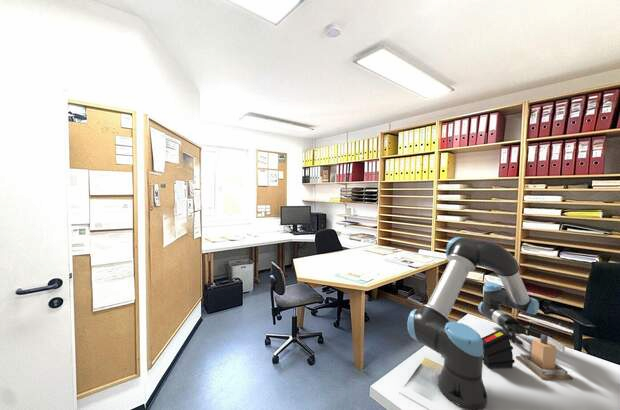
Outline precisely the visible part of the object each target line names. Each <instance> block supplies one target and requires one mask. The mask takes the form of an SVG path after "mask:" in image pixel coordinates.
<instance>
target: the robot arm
mask: <svg viewBox="0 0 620 410" xmlns="http://www.w3.org/2000/svg"><path fill="white" fill-rule="evenodd" d="M445 255H446V259H447V262H448V263H447V264H446V268H445V269H444V271H443V273H442V275H441V277H440V278H439V280H438V282H437V284H436V286H435V287H434V288H435V289H434V290H433V292H432V294H431V296H430V298H429V300H428V301H427V304H421V306H420V308H419V309H416V308H414V309H413V310H411V312H410V313H409V315H408V318H407V323H406V324H407V332H408V334H409V335H410V338H412V339H414V340H415V341H417V342H418V343H419V344H422V345H424V346H425V347H427V348H429V349H430V350H432V351H434V352H436V353H437V354H439V355H442V356H444V358H443V359H444V362H443V363H444V364H443V366H442V368H441V370H440V373H439V374H438V378H437V380H438V381H437V386H438V389H439V390H440V392H441V394H443V396H444V395H445V396H446V397H445V396H444V397H445V398H446V399H447V400H449V401H450V400H451V401H450V402H452V401H453V402H455V403H457V404H459V405H460V406H459V405H458V406H459V407H461V408H464V409H466V410H483V409H485V408H487V405H488V394H487V390H486V387H485V384H484V381H483V365H484V364H483V353H484V349H483V340H482V338H483V337H481V335H480V334H479V332H478V331H476V330H475V329H474V328H473V327H471V326H468V325H467V324H465V323H462V322H458V321H450V319H449V315H450V313H451V311H452V309H453V307H454V304H455V302H456V300H457V297H458V296H459V294H460V292H461V290H462V288H463V286H464V283H465V281H466V279H467V277H468V275H469V273H470V272H474V271H475V270H476V267H481V268H487V269H490V270H492V271H493V272H494V274H496V275H497V276H498V278H499V280H500V281H501V283H502V285H503V288H504V289H502V285H501V284H499V283H496V282H492V281H486V282H485V283H484V284H483V285H484V286H483V293H482V294H483V295H482V296H483V301H481V302H479V304H478V305H477V308H478V309H477V310H478V312H479V313H481V314H482V315H483V316H484V317H486V318H487V319H489V320H490V321H492V322H493V323H495V324H496V325H497V326H498V327H499V330H500V329H501V330H502V331H504V332H505V333H506V334H507V335H508V336H509V337H510V338H509V341H511V343H513V344H515V343H516V344H518V345H520V346H521V348H523V349H524V350H527V351H528V352H530V353H532V344H530V343H529V342H527V341H526V340H524V339H523V337H520V336H518V335H524V336H526V337H527V336H528V337H529V336H530V337H533V338H535V339H541V334H543V335H546V336H547V337H548V340H547V341H548V342H549V343H551V344H552V345H554V346H556V350H558V351H560V352H561V353H565V348H566V347H565V345H564V344H562V343H560V342H559V341H557V340H555V339H554V335H553V334H550V333H548V332H546V331H544V330H543V331H542V330H541V329H538V328H536V327H533V326H531V325H529V324H526V325H522V324H520V322H519V321H518V319H516V318H515V317H513V316H512V315H510V314H508V313H507V312H505V311H503V310H502V309H501V306H505V307H508V308H511V309H514V310H517V311H520V312H524V313H525V314H530V315H532V316H533V315H537V313H538V312H539V308H540V303H539V301H538V299H535V298H533V297H530V296H529V293H528V291H527V289H526V286H525V284H524V282H523V280H522V277H521V274H520V272H519V271H520V264H519V262H518V261H517V259H516V258H515V257H514V255H513V254H512V253H511V252H510V251H509V250H508V249H506V248H504V247H503V246H502V245H500V244H497V243H496V242H493V241H488V240H486V241H485V240H480V239H473V238H468V237H460V236H459V237H458V236H455V237H453V238H451V239H450V240H449V241H448V243H447V244H446V249H445ZM516 334H518V335H516ZM453 402H452V403H453ZM455 403H454V404H455ZM457 404H456V405H457Z"/></svg>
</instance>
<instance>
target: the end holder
mask: <svg viewBox="0 0 620 410" xmlns="http://www.w3.org/2000/svg"><path fill="white" fill-rule="evenodd" d="M515 359H516V360H518V361H519V362H520V364H522V365H524V366H525V367H526V368H527V369H529V370H530V371H531V372H532V373H534V375H536V376H537V377H539V378H540V379H541V380H562V381H563V380H565V381H568V380H569V381H573V379H574V378H573V376H571V375H570V374H569V373H568V371H567V370H566V369H564V368H563V367H562V366H560V365H559V364H557V363H556V362H555V370H545V369H541V368H540V367H539V366H537V365H536V364H535V363H533V362H532V361H531V354H520V355H517V356H515Z"/></svg>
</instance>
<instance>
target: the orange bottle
mask: <svg viewBox="0 0 620 410" xmlns="http://www.w3.org/2000/svg"><path fill="white" fill-rule="evenodd" d="M531 340H532V341H531V354H530V355H531V361H532V362H533V363H535V364H536V365H537V366H539V367H540V368H541V369H545V370H555V363H556V356H557V355H556V351H557V348H556V346H554V345H552V344H551V343H549V342H548V341H547V340H548V337H547V336H546V335H543V334H541V339H539V338H532V339H531Z"/></svg>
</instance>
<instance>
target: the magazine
mask: <svg viewBox="0 0 620 410" xmlns="http://www.w3.org/2000/svg"><path fill="white" fill-rule="evenodd" d="M481 338H482V340H483V349H484V353H483V365H484V366H486V368H487V369H513V368H514V366H513V364H515V362H516V361H515V359H514V357H513V356H514V355H513V350H514V346H512V345H511V340H509V338H510V337H509V336H508V335H507V334H506V333H505V332H504V331H502V330H501V329H500V328H499V329H498V330H496V331H494V332H492V333H490V334H487V335H486V336H483V337H481Z"/></svg>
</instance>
